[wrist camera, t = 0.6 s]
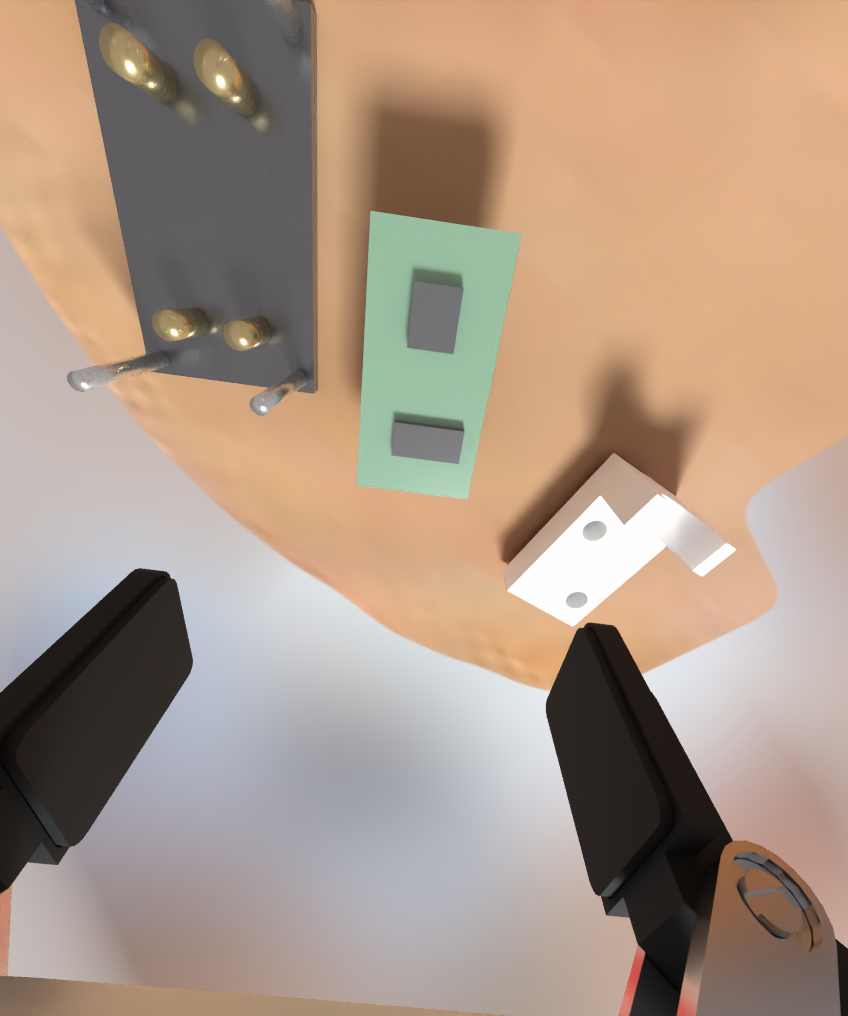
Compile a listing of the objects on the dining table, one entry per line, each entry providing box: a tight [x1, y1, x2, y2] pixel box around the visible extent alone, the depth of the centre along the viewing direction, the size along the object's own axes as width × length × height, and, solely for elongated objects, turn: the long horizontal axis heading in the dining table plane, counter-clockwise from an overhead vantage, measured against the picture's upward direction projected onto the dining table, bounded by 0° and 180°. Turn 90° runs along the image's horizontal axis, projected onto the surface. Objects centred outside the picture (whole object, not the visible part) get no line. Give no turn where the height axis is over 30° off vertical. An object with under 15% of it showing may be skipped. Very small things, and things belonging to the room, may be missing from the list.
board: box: [357, 211, 522, 499], centre depth 22 cm, size 14×7×3 cm, turn 173°
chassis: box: [67, 0, 318, 415], centre depth 20 cm, size 18×11×8 cm, turn 173°
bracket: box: [502, 453, 736, 627], centre depth 30 cm, size 13×7×8 cm, turn 147°
